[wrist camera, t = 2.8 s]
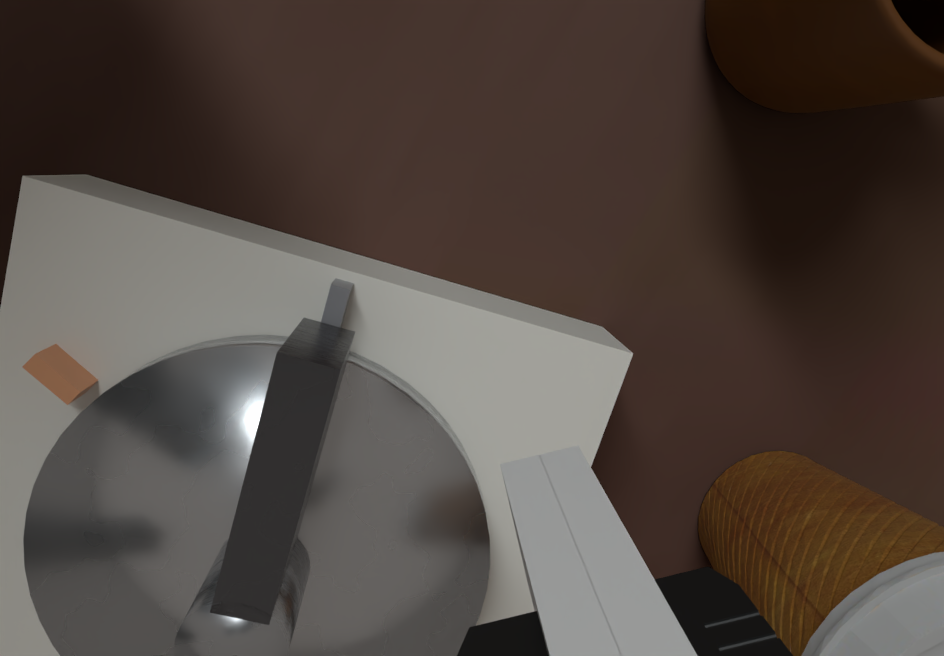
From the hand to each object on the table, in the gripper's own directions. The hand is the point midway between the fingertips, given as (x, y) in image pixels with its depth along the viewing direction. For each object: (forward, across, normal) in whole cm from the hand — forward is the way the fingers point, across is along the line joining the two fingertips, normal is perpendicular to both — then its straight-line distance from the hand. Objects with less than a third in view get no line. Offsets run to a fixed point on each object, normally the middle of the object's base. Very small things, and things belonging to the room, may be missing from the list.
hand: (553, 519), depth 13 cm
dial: (+10, -9, -4) cm, 14 cm away
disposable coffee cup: (+15, +10, -11) cm, 21 cm away
